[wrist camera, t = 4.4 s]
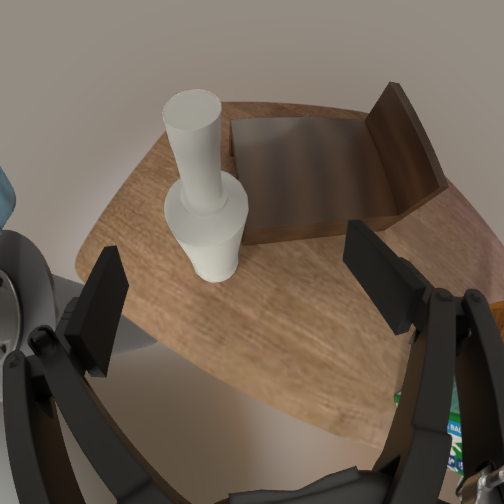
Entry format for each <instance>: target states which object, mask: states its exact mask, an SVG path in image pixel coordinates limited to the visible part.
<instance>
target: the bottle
mask: <svg viewBox="0 0 504 504" xmlns="http://www.w3.org/2000/svg"><path fill="white" fill-rule="evenodd" d="M162 116H163V120H164V124H165V127H166V131H167V135H168V138H169V142H170V146H171V148H172V150H173V152H174V155H175V159H176V162H177V166H178V170H179V173H180V178H179V179H178V180H177V181H176V182H175V183H174V184H173V185H172V186H171V188H170V190H169V192H168V194H167V197H166V199H165V209H164V216H165V218H166V221H167V223H168V225H169V228H170V230H171V232H172V233H173V235H174V236H175V238H176V239H177V241H178V242H179V243H180V245H181V246H182V248H183V249H184V251H185V252H186V254H187V255H188V257H189V258H190V260H191V261H192V265H193V267H194V269H195V271H196V273H197V274H198V275H199V276H200V277H201V278H203V279H204V280H206V281H209V282H212V283H214V282H222V281H224V280H226V279H229V278H230V277H231V276H232V274H233V273H234V272H235V271H236V268H237V265H238V262H239V260H238V251H239V247H240V243H241V239H242V235H243V231H244V227H245V223H246V219H247V215H248V211H249V208H248V197H247V194H246V192H245V190H244V188H243V187H242V185H241V183H240V182H239V181H238V180H237V179H235V178H234V177H233V176H232V175H230V174H229V173H228V172H224V171H221V160H220V144H221V102H220V101H219V99H218V97H217V96H216V95H214V94H212V93H211V92H209V91H206V90H201V89H193V90H186V91H183V92H180V93H177V94H176V95H174V96H173V97H171V98H170V99H169V100H168V101H167V103H166V104H165V106H164V107H163V114H162Z"/></svg>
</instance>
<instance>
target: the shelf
mask: <svg viewBox="0 0 504 504" xmlns="http://www.w3.org/2000/svg"><path fill="white" fill-rule="evenodd" d="M229 150H230V156H234V161H235V168H236V175H237V180H238V181H239V182H240V183H241V185H242V187H243V188H244V190H245V192H246V194H247V197H248V208H249V211H248V215H247V219H246V223H245V227H244V231H243V235H242V245H243V246H246V245H255V244H264V243H273V242H281V241H290V240H299V239H308V238H317V237H326V236H335V235H344V234H346V233H347V226H348V220H356V219H360V220H361V221H362V222H363V223H364V224H365V225H366V226H367V227H368V228H369V229H370V230H371V231H382V230H386V229H387V228H389V227H390V226H392V225H394V224H395V223H397V222H398V221H400V220H401V219H403V218H404V217H406V216H407V215H409V214H410V213H412V212H413V211H415V210H416V209H418V208H419V207H421V206H422V205H424V204H425V203H427V202H428V201H430V200H431V199H433V198H434V197H436V196H437V195H438V194H440V193H441V192H443V191H444V190H446V189H447V188H448V184H447V181H446V178H445V176H444V173H443V171H442V168H441V166H440V163H439V161H438V158H437V156H436V154H435V151H434V149H433V147H432V145H431V142H430V140H429V138H428V136H427V134H426V132H425V130H424V128H423V126H422V124H421V122H420V120H419V118H418V116H417V114H416V112H415V110H414V109H413V107H412V105H411V103H410V101H409V99H408V98H407V96H406V94H405V93H404V91H403V89H402V87H401V86H400V84H399V83H394V82H389V84H388V85H387V87H386V88H385V90H384V91H383V93H382V95H381V96H380V98H379V99H378V101H377V102H376V104H375V106H374V107H373V109H372V110H371V112H370V113H369V115H368V116H367V118H366V119H365V120H354V119H339V118H314V117H273V118H248V119H232V120H230V138H229Z"/></svg>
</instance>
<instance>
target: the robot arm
mask: <svg viewBox="0 0 504 504" xmlns="http://www.w3.org/2000/svg"><path fill="white" fill-rule="evenodd" d="M15 205H16V196H15V192H14V189H13V187H12V185H11V183H10V181H9V180H8V178H7V176H6V175H5V173H4V172H3V170H2V168H1V167H0V235H1V233H2V228H3V227H4V225H5V223H6V222H7V220H8V219H9V217H10V215H11V214H12V212H13V211H14V208H15ZM343 261H344V263H345V264H346V265H347V267H348V268H349V269H350V271H351V272H352V273H353V275H354V276H355V278H356V279H357V280H358V282H359V283H360V284H361V286H362V287H363V289H364V290H365V291H366V293H367V294H368V296H369V297H370V299H371V300H372V301H373V303H374V304H375V306H376V307H377V309H378V310H379V312H380V313H381V314H382V316H383V317H384V319H385V320H386V322H387V323H388V325H389V326H390V328H391V329H392V331H393V332H394V334H395V335H399V334H403V333H406V332H408V331H409V328H410V326H411V324H412V323H413V324H414V326H415V327H416V329H415V331H414V333H413V335H412V337H411V339H410V341H409V343H408V344H411V342H412V345H411V350H410V355H409V360H408V365H407V370H406V374H405V379H404V383H403V387H402V391H401V395H400V398H399V402H398V406H397V409H396V412H395V416H394V419H393V422H392V425H391V429H390V432H389V435H388V438H387V440H386V443H385V446H384V449H383V451H382V453H381V455H380V457H379V458H378V460H377V461H376V463H375V465H374V467H373V469H372V471H370V470H358V469H357V467H356V466H354V467H351V468H348V469H346V470H342V471H339V472H336V473H333V474H329V475H326V476H325V477H323V478H321V479H319V480H317V481H315V482H314V483H311V484H309V485H307V486H305V487H303V488H301V489H299V490H295V491H283V490H282V491H280V490H255V491H247V492H239V493H229V494H228V495H229V498H227V499H223V500H221V501H219V502H216V503H215V504H450V503H447V502H445V501H442V500H440V499H438V497H439V493H440V490H441V487H442V484H443V480H444V476H445V473H446V469H447V465H448V461H449V456H450V452H451V447H452V439H453V438H452V435H450V434H448V432H447V428H448V422H449V416H450V409H451V402H452V393H453V383H454V375H455V381H456V388H457V395H458V403H459V412H460V423H461V439H462V465H463V474H464V480H465V483H464V485H463V488H461V489H460V490H459V492H458V499H459V500H460V501H461V504H504V342H503V340H502V337H501V334H500V332H499V329H498V326H497V324H496V321H495V319H494V316H493V314H492V312H491V309H490V307H489V305H488V302H487V300H486V298H485V296H484V295H483V294H482V293H481V292H480V291H478V290H475V289H468V290H466V292H465V294H464V297H454V296H453V295H452V294H451V293H450V292H449V291H448V290H445V289H443V288H434V286H433V285H432V284H431V283H430V282H429V281H428V280H427V279H426V278H425V277H424V276H423V275H422V274H420V272H419V271H418V270H417V269H416V268H415V267H414V265H413V264H412V263H411V262H409V261H408V260H406V259H404V258H402V257H400V258H399V257H398V256H397V255H396V254H395V253H394V252H393V251H392V250H391V249H390V248H389V247H388V246H387V245H386V244H385V243H384V242H383V241H382V240H381V239H380V238H379V237H378V236H377V235H376V234H375V233H374V232H372V231H371V230H370V229H369V228H368V227H367V226H366V225H365V224H364V223H363V222H362V221H361V220H360V219H356V220H348V226H347V233H346V241H345V248H344V254H343ZM128 288H129V284H128V281H127V278H126V275H125V272H124V268H123V265H122V262H121V259H120V256H119V252H118V249H117V246H116V245H115V246H108V247H104V249H103V250H102V252H101V254H100V256H99V258H98V260H97V262H96V264H95V266H94V268H93V270H92V272H91V274H90V276H89V278H88V280H87V282H86V284H85V286H84V288H83V290H82V292H81V294H80V297H74V298H73V299H72V300H71V301H70V302H69V303H68V304H67V306H66V308H65V310H64V314H63V315H62V317H61V320H60V321H59V324H58V326H57V328H56V331H55V333H54V331H53V330H52V328H51V327H50V326H48V325H41V326H39V327H36V328H35V329H34V330H33V331H32V332H31V333H30V335H29V337H28V339H27V341H28V345H29V347H30V348H31V349H32V351H33V352H34V354H35V355H31V356H28V357H26V356H25V355H24V354H23V352H22V351H20V350H19V348H20V346H21V342H22V337H23V328H24V316H23V307H22V301H21V297H20V294H19V291H18V288H17V286H16V284H15V282H14V281H13V279H12V278H11V276H10V275H9V274H8V273H7V272H5V271H4V270H2V269H0V365H3V408H4V422H5V433H6V441H7V448H8V454H9V461H10V466H11V470H12V476H13V480H14V484H15V488H16V492H17V496H18V499H19V503H20V504H86V503H85V501H84V498H83V496H82V493H81V491H80V489H79V486H78V483H77V481H76V478H75V475H74V472H73V469H72V466H71V463H70V460H69V457H68V453H67V451H66V447H65V443H64V439H63V436H62V432H61V428H60V424H59V420H58V415H57V410H56V405H55V401H56V403H57V405H58V407H59V409H60V411H61V413H62V415H63V417H64V419H65V421H66V423H67V425H68V426H69V428H70V430H71V432H72V434H73V436H74V437H75V439H76V441H77V442H78V444H79V446H80V448H81V449H82V451H83V452H84V454H85V455H86V457H87V458H88V460H89V462H90V463H91V465H92V466H93V468H94V469H95V471H96V472H97V474H98V475H99V476H100V478H101V479H102V481H103V482H104V483H105V485H106V486H107V487H108V489H109V490H110V491H111V493H112V494H113V495H114V497H115V498H116V500H117V504H191V503H190V502H189V501H187V500H186V499H185V498H184V497H183V496H181V495H180V494H179V493H178V492H176V491H175V490H174V489H173V488H172V487H171V486H170V485H169V484H168V483H167V482H166V481H165V480H164V479H163V478H162V477H161V476H160V475H159V474H158V472H157V471H156V470H155V469H154V468H153V467H152V466H151V465H150V464H149V463H148V462H147V460H146V459H145V458H144V457H143V456H142V455H141V454H140V452H139V451H138V450H137V449H136V448H135V447H134V445H133V444H132V443H131V442H130V440H129V439H128V438H127V437H126V436H125V434H124V433H123V432H122V430H121V429H120V428H119V427H118V425H117V424H116V422H115V421H114V420H113V418H112V417H111V416H110V414H109V413H108V412H107V410H106V409H105V407H104V406H103V404H102V403H101V401H100V400H99V398H98V397H97V395H96V394H95V392H94V391H93V389H92V387H91V386H90V384H89V383H88V381H87V380H86V378H85V377H84V375H85V371H86V370H87V371H88V373H89V374H90V375H91V377H106V376H107V371H108V365H109V361H110V356H111V352H112V348H113V344H114V339H115V335H116V331H117V327H118V323H119V320H120V316H121V312H122V309H123V305H124V301H125V298H126V294H127V291H128ZM470 332H471V334H470ZM54 399H55V400H54Z"/></svg>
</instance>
